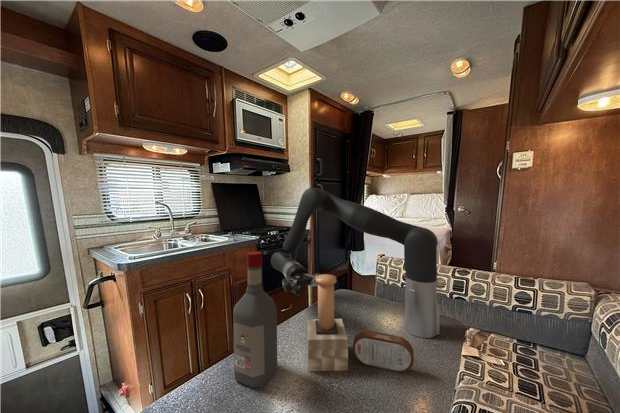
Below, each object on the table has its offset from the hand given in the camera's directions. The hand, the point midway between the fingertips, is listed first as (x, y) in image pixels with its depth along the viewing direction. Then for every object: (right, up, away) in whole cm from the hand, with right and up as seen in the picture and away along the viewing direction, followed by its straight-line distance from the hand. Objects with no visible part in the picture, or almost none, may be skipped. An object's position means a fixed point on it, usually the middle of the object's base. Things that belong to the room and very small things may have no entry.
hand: (312, 290), depth 74 cm
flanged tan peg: (+4, -14, -10) cm, 17 cm away
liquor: (-14, -15, -15) cm, 26 cm away
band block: (+4, -15, -10) cm, 18 cm away
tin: (+18, -15, -13) cm, 27 cm away
